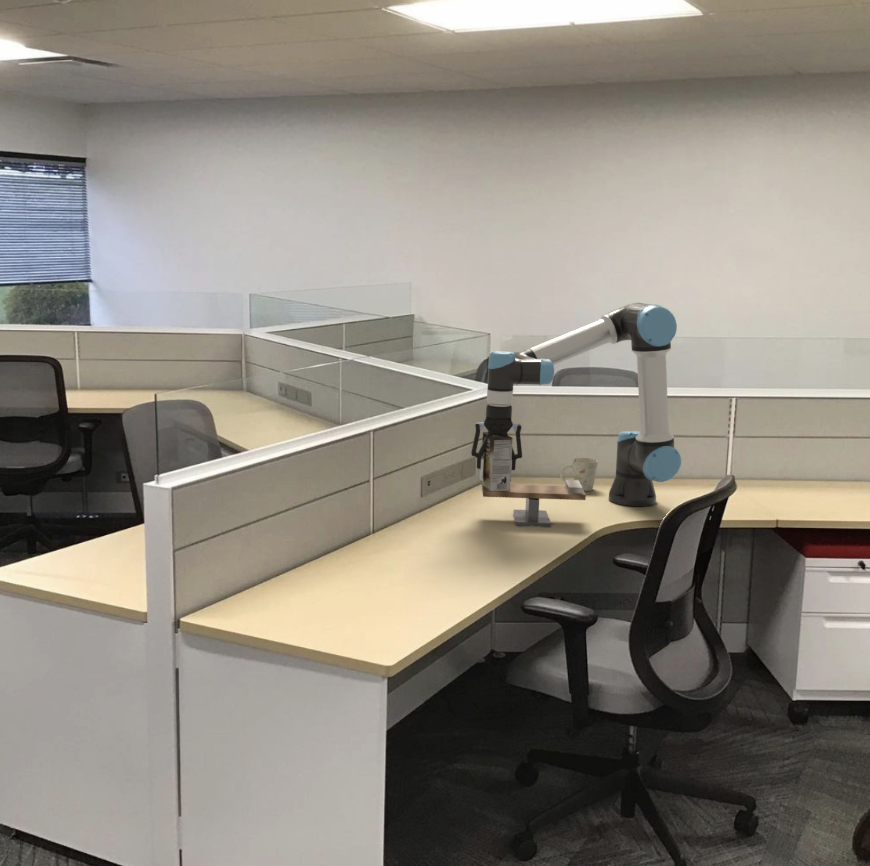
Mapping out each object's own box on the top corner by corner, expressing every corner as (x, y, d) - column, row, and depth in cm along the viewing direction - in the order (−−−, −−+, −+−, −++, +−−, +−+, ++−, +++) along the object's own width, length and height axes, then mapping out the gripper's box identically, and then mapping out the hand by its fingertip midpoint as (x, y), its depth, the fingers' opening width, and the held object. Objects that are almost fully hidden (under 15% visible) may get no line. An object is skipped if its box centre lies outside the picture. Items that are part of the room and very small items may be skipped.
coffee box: (479, 484, 302) (482, 431, 299) (499, 483, 304) (502, 431, 301) (489, 491, 294) (492, 437, 291) (510, 490, 296) (513, 437, 293)
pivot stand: (545, 514, 307) (547, 490, 306) (550, 527, 294) (551, 502, 292) (513, 513, 307) (514, 489, 306) (516, 526, 294) (517, 500, 292)
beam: (580, 491, 304) (581, 480, 303) (585, 500, 294) (586, 488, 293) (481, 488, 304) (482, 476, 303) (483, 496, 294) (483, 484, 294)
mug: (597, 492, 337) (599, 463, 335) (560, 491, 337) (561, 462, 335) (594, 486, 345) (596, 458, 343) (557, 485, 345) (559, 456, 343)
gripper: (533, 403, 298) (528, 478, 302) (464, 400, 298) (460, 475, 302) (535, 407, 290) (530, 484, 295) (464, 404, 290) (460, 481, 295)
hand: (495, 479), depth 298 cm, fingers closed on coffee box, 8 cm apart
